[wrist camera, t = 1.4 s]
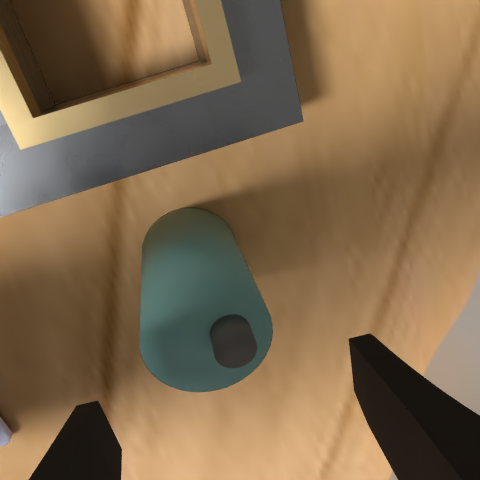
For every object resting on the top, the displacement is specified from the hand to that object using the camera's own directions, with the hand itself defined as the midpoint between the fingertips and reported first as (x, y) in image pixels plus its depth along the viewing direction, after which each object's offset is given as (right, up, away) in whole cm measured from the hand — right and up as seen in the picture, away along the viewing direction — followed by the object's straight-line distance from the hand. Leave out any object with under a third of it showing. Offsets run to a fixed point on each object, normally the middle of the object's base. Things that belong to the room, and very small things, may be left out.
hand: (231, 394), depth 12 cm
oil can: (-2, +4, +9) cm, 10 cm away
